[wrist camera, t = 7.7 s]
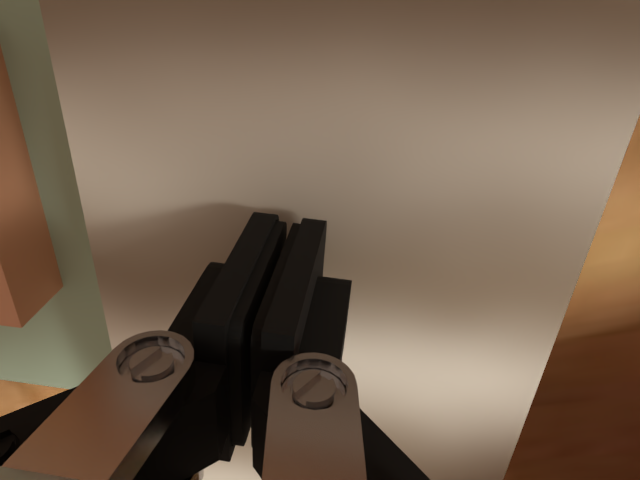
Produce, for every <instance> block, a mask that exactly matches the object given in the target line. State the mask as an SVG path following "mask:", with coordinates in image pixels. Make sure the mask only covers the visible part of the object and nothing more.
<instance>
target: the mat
mask: <svg viewBox="0 0 640 480" xmlns="http://www.w3.org/2000/svg"><path fill="white" fill-rule="evenodd" d="M0 45H1V49H2V53H3V56H4V60H5V64H6V68H7V72H8V76H9V79H10V83H11V87H12V91H13V95H14V99H15V103H16V106H17V110H18V114H19V118H20V122H21V126H22V129H23V133H24V137H25V141H26V145H27V149H28V152H29V156H30V160H31V164H32V168H33V172H34V175H35V179H36V183H37V187H38V191H39V195H40V198H41V202H42V206H43V210H44V214H45V218H46V221H47V225H48V229H49V233H50V237H51V241H52V245H53V248H54V252H55V256H56V260H57V264H58V268H59V271H60V275H61V279H62V283H63V287H62V288H61V289H60V290H59V291H58V292H57V293H56V294H55V295H54V296H53V297H52V298H51V299H50V300H49V301H48V302H47V303H46V304H45V305H44V306H43V307H42V308H41V309H40V310H39V311H38V312H37V313H36V314H35V315H34V316H33V317H32V318H31V319H30V320H29V321H28V322H27V323H26V324H25V325H24V326H23V327H22V328H18V327H10V326H2V325H0V379H1V380H8V381H15V382H22V383H29V384H36V385H44V386H51V387H58V388H65V389H72V388H74V387H77V386H79V384H80V383H81V382H82V381H83V380H84V379H85V378H86V377H87V376H88V375H89V374H90V373H91V372H92V371H93V370H94V369H95V368H96V367H97V366H98V365H99V364H100V363H101V362H102V361H103V359H104V358H105V357H106V356H107V355H108V354H109V353H110V352H111V351H112V348H111V343H110V338H109V334H108V329H107V324H106V319H105V315H104V310H103V305H102V300H101V295H100V291H99V286H98V281H97V276H96V272H95V267H94V262H93V257H92V252H91V248H90V243H89V238H88V233H87V229H86V224H85V219H84V214H83V209H82V205H81V200H80V195H79V190H78V186H77V181H76V176H75V171H74V166H73V162H72V157H71V152H70V147H69V143H68V138H67V133H66V128H65V123H64V119H63V114H62V109H61V104H60V100H59V95H58V90H57V85H56V80H55V76H54V71H53V66H52V61H51V57H50V52H49V47H48V42H47V37H46V33H45V28H44V23H43V18H42V14H41V9H40V4H39V0H0Z"/></svg>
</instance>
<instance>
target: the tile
mask: <svg viewBox="0 0 640 480" xmlns="http://www.w3.org/2000/svg"><path fill="white" fill-rule="evenodd" d="M62 287H63V283H62V279H61V275H60V271H59V268H58V264H57V260H56V256H55V252H54V248H53V245H52V241H51V237H50V233H49V229H48V225H47V221H46V218H45V214H44V210H43V206H42V202H41V198H40V195H39V191H38V187H37V183H36V179H35V175H34V172H33V168H32V164H31V160H30V156H29V152H28V149H27V145H26V141H25V137H24V133H23V129H22V126H21V122H20V118H19V114H18V110H17V106H16V103H15V99H14V95H13V91H12V87H11V83H10V79H9V76H8V72H7V68H6V64H5V60H4V56H3V53H2V49H1V45H0V325H2V326H10V327H18V328H22V327H23V326H24V325H25V324H26V323H27V322H28V321H29V320H30V319H31V318H32V317H33V316H34V315H35V314H36V313H37V312H38V311H39V310H40V309H41V308H42V307H43V306H44V305H45V304H46V303H47V302H48V301H49V300H50V299H51V298H52V297H53V296H54V295H55V294H56V293H57V292H58V291H59V290H60V289H61V288H62Z"/></svg>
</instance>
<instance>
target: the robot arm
mask: <svg viewBox="0 0 640 480" xmlns="http://www.w3.org/2000/svg"><path fill="white" fill-rule="evenodd" d="M326 230H327V221H325V220H317V219H309V218H303V219H302V221H301V224H299V223H293V224H292V226H291V229H290V231H289V234H288V236H287V223H286V222H283V221H279V216H278V215H276V214H268V213H260V212H253V214H252V215H251V217H250V219H249V221H248V223H247V224H246V226H245V228H244V230H243V232H242V233H241V235H240V237H239V239H238V240H237V242H236V244H235V246H234V248H233V249H232V251H231V253H230V255H229V257H228V258H227V260H226V262H225V263H218V262H210V263H209V264H208V265H207V267H206V268H205V270H204V272H203V273H202V275H201V277H200V278H199V280H198V281H197V283H196V285H195V286H194V288H193V290H192V291H191V293H190V295H189V296H188V298H187V299H186V301H185V303H184V304H183V306H182V308H181V309H180V311H179V313H178V314H177V316H176V317H175V319H174V321H173V322H172V324H171V326H170V327H169V329H168V331H164V330H156V331H147V332H143V333H139V334H136V335H134V336H132V337H130V338H128V339H126V340H124V341H123V342H121V343H120V344H119V345H118V346H116V347H115V348H114V349H113V350H112V351H111V352H110V353H109V354H108V355H107V356H106V357H105V358H104V359H103V361H102V362H101V363H100V364H99V365H98V366H97V367H96V368H95V369H94V370H93V371H92V372H91V373H90V374H89V375H88V376H87V377H86V378H85V379H84V380H83V381H82V382H81V383H80V384H79V386H77V387H74V388H72V389H69V390H67V391H64V392H62V393H59V394H57V395H54V396H52V397H49V398H47V399H44V400H42V401H39V402H37V403H34V404H32V405H29V406H26V407H24V408H21V409H19V410H16V411H14V412H11V413H9V414H6V415H4V416H1V417H0V480H202V479H203V476H204V469H205V468H207V467H208V466H210V465H212V464H214V463H216V462H217V461H219V460H220V461H226V462H230V461H231V458H232V455H233V452H234V449H235V446H236V445H237V446H244V445H245V443H246V441H247V438H248V434H249V431H250V428H251V447H252V456H253V468H254V469H255V470H256V472H257V473H258V475H259V476H260V478H261V479H262V480H430V479H429V478H428V477H427V476H426V475H425V474H424V473H423V471H422V470H421V469H420V468H419V467H418V466H417V465H416V464H415V463H414V462H413V461H412V460H411V459H410V458H409V457H408V456H407V455H406V454H405V453H404V452H403V451H402V450H401V449H400V448H399V447H398V446H397V445H396V444H395V443H394V442H393V441H392V440H391V439H390V438H389V437H388V436H387V435H386V434H385V433H384V432H383V431H382V430H381V429H380V428H379V427H378V426H377V425H376V424H375V423H374V422H373V421H372V420H371V419H370V418H369V417H368V416H367V415H366V414H365V413H364V412H363V411H362V410H361V409H360V406H359V396H358V387H357V382H356V379H355V375H354V373H353V372H352V371H351V369H350V368H349V367H348V366H347V365H346V364H345V363H343V362H342V356H343V349H344V341H345V334H346V326H347V318H348V310H349V302H350V294H351V285H352V280H346V279H338V278H331V277H323V266H324V254H325V242H326ZM286 238H287V239H286Z"/></svg>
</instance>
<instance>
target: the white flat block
mask: <svg viewBox="0 0 640 480" xmlns="http://www.w3.org/2000/svg"><path fill="white" fill-rule="evenodd" d="M39 4H40V9H41V14H42V18H43V23H44V28H45V33H46V37H47V42H48V47H49V52H50V57H51V61H52V66H53V71H54V76H55V80H56V85H57V90H58V95H59V100H60V104H61V109H62V114H63V119H64V123H65V128H66V133H67V138H68V143H69V147H70V152H71V157H72V162H73V166H74V171H75V176H76V181H77V186H78V190H79V195H80V200H81V205H82V209H83V214H84V219H85V224H86V229H87V233H88V238H89V243H90V248H91V252H92V257H93V262H94V267H95V272H96V276H97V281H98V286H99V291H100V295H101V300H102V305H103V310H104V315H105V319H106V324H107V329H108V334H109V338H110V343H111V348H112V350H113V349H114V348H115V347H116V346H118V345H119V344H120V343H121V342H123V341H124V340H126V339H128V338H130V337H132V336H134V335H136V334H139V333H143V332H147V331H156V330H164V331H168V329H169V327H170V326H171V324H172V322H173V321H174V319H175V317H176V316H177V314H178V313H179V311H180V309H181V308H182V306H183V304H184V303H185V301H186V299H187V298H188V296H189V295H190V293H191V291H192V290H193V288H194V286H195V285H196V283H197V281H198V280H199V278H200V277H201V275H202V273H203V272H204V270H205V268H206V267H207V265H208V264H209V263H210V262H218V263H225V262H226V260H227V258H228V257H229V255H230V253H231V251H232V249H233V248H234V246H235V244H236V242H237V240H238V239H239V237H240V235H241V233H242V232H243V230H244V228H245V226H246V224H247V223H248V221H249V219H250V217H251V215H252V214H253V212H260V213H268V214H276V215H278V216H279V221H283V222H286V223H287V236H288V234H289V231H290V229H291V226H292V224H293V223H299V224H301V221H302V219H303V218H309V219H317V220H325V221H327V230H326V242H325V254H324V266H323V277H331V278H338V279H346V280H352V285H351V294H350V302H349V310H348V318H347V326H346V334H345V341H344V349H343V356H342V362H343V363H345V364H346V365H347V366H348V367H349V368H350V369H351V371H352V372H353V373H354V375H355V379H356V382H357V387H358V396H359V406H360V409H361V410H362V411H363V412H364V413H365V414H366V415H367V416H368V417H369V418H370V419H371V420H372V421H373V422H374V423H375V424H376V425H377V426H378V427H379V428H380V429H381V430H382V431H383V432H384V433H385V434H386V435H387V436H388V437H389V438H390V439H391V440H392V441H393V442H394V443H395V444H396V445H397V446H398V447H399V448H400V449H401V450H402V451H403V452H404V453H405V454H406V455H407V456H408V457H409V458H410V459H411V460H412V461H413V462H414V463H415V464H416V465H417V466H418V467H419V468H420V469H421V470H422V471H423V473H424V474H425V475H426V476H427V477H428V478H429V479H430V480H503V479H504V476H505V473H506V471H507V468H508V465H509V463H510V460H511V457H512V455H513V452H514V449H515V447H516V444H517V441H518V439H519V436H520V433H521V431H522V428H523V425H524V423H525V420H526V417H527V414H528V412H529V409H530V406H531V404H532V401H533V398H534V396H535V393H536V390H537V388H538V385H539V382H540V380H541V377H542V374H543V372H544V369H545V366H546V364H547V361H548V358H549V356H550V353H551V350H552V348H553V345H554V342H555V340H556V337H557V334H558V332H559V329H560V326H561V324H562V321H563V318H564V316H565V313H566V310H567V308H568V305H569V302H570V299H571V297H572V294H573V291H574V289H575V286H576V283H577V281H578V278H579V275H580V273H581V270H582V267H583V265H584V262H585V259H586V257H587V254H588V251H589V249H590V246H591V243H592V241H593V238H594V235H595V233H596V230H597V227H598V225H599V222H600V219H601V217H602V214H603V211H604V209H605V206H606V203H607V201H608V198H609V195H610V193H611V190H612V187H613V184H614V182H615V179H616V176H617V174H618V171H619V168H620V166H621V163H622V160H623V158H624V155H625V152H626V150H627V147H628V144H629V142H630V139H631V136H632V134H633V131H634V128H635V126H636V123H637V120H638V118H639V115H640V0H39ZM286 239H287V238H286ZM202 480H262V479H261V478H260V476H259V475H258V473H257V472H256V470H255V469H254V468H253V456H252V447H251V428H250V431H249V434H248V438H247V441H246V443H245V445H244V446H237V445H236V446H235V449H234V452H233V455H232V458H231V461H230V462H226V461H220V460H219V461H217V462H216V463H214V464H212V465H210V466H208V467H207V468H205V469H204V476H203V479H202Z"/></svg>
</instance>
